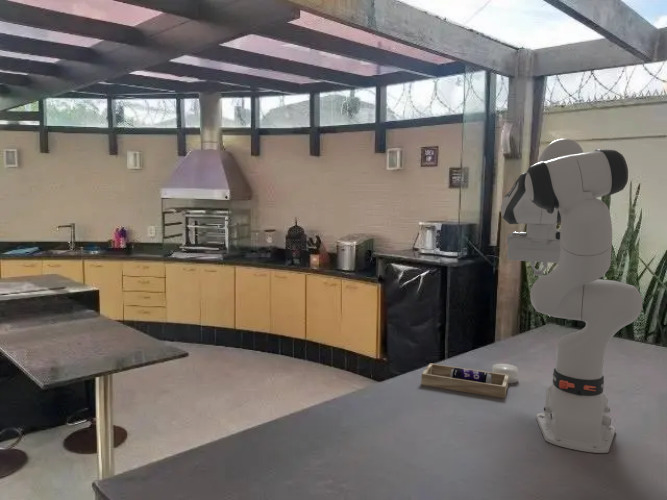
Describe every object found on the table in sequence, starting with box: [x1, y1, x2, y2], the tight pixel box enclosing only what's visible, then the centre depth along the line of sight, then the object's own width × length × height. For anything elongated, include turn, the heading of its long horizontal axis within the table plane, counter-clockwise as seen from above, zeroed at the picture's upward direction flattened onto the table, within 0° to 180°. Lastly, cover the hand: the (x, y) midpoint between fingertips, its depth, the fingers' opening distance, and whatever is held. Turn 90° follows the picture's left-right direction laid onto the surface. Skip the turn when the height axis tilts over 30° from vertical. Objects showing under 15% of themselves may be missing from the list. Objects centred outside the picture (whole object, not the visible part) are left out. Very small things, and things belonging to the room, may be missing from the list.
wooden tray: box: [420, 362, 509, 399], centre depth 165 cm, size 12×25×4 cm, turn 67°
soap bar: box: [492, 363, 519, 384], centre depth 171 cm, size 8×8×4 cm
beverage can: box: [450, 367, 492, 384], centre depth 162 cm, size 6×6×12 cm
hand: (538, 275), depth 171 cm, fingers closed
